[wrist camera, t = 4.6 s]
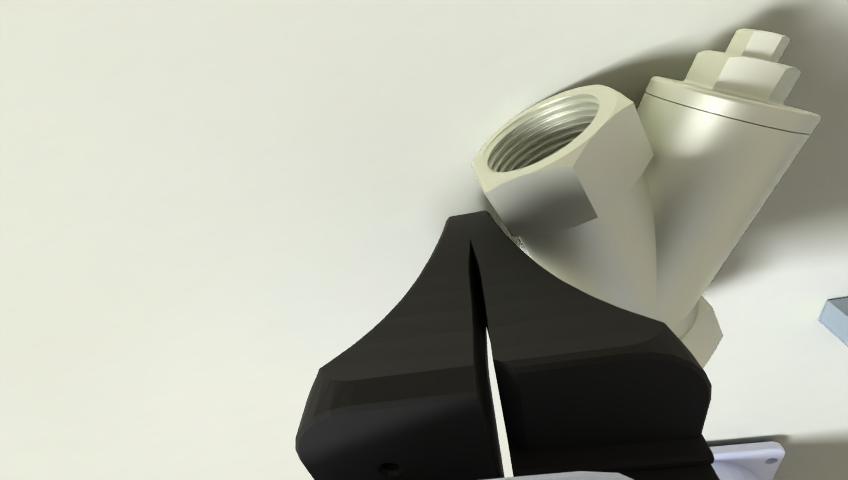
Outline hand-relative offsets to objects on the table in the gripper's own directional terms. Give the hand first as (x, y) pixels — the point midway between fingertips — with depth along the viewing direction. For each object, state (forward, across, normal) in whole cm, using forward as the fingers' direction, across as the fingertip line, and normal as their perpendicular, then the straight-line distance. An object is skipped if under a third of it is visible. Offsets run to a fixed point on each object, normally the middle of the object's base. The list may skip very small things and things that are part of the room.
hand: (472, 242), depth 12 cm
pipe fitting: (+1, -5, 0) cm, 5 cm away
